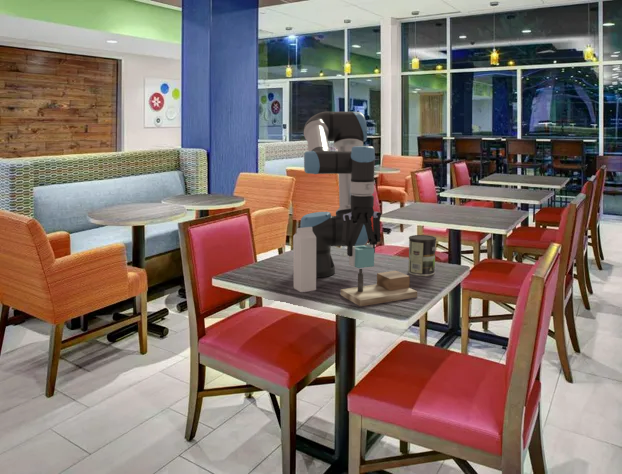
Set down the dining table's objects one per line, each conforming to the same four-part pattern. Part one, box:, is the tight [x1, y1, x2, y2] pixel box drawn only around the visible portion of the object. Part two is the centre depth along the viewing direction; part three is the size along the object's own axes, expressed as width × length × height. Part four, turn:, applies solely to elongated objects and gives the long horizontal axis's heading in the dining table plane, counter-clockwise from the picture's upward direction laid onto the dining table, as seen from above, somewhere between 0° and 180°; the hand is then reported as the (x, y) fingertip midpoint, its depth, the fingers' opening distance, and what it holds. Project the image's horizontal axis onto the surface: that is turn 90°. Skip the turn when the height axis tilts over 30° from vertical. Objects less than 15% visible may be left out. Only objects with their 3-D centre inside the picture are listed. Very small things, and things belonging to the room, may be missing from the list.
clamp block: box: [376, 270, 411, 290], centre depth 187 cm, size 8×8×4 cm
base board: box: [340, 268, 418, 307], centre depth 182 cm, size 13×22×10 cm, turn 116°
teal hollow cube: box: [353, 244, 375, 269], centre depth 179 cm, size 6×6×6 cm
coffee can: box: [407, 234, 437, 277], centre depth 211 cm, size 10×10×14 cm
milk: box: [292, 227, 317, 293], centre depth 189 cm, size 6×6×22 cm
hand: (360, 264), depth 180 cm, fingers closed on teal hollow cube, 6 cm apart
